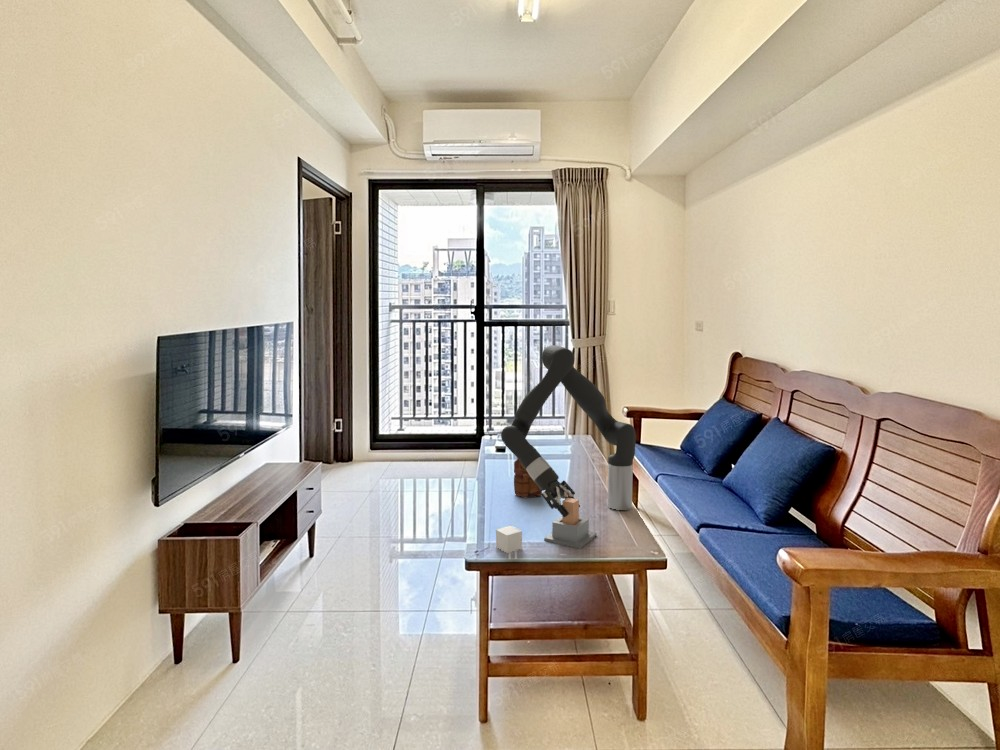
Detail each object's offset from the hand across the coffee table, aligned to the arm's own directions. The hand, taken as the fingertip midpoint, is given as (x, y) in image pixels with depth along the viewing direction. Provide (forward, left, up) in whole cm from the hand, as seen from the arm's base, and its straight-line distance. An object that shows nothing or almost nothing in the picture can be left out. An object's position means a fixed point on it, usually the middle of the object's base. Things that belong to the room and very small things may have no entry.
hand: (572, 511), depth 190 cm
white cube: (+7, -22, -9) cm, 24 cm away
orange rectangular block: (0, -1, -8) cm, 8 cm away
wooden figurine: (-47, -11, -9) cm, 49 cm away
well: (0, -1, -9) cm, 9 cm away
